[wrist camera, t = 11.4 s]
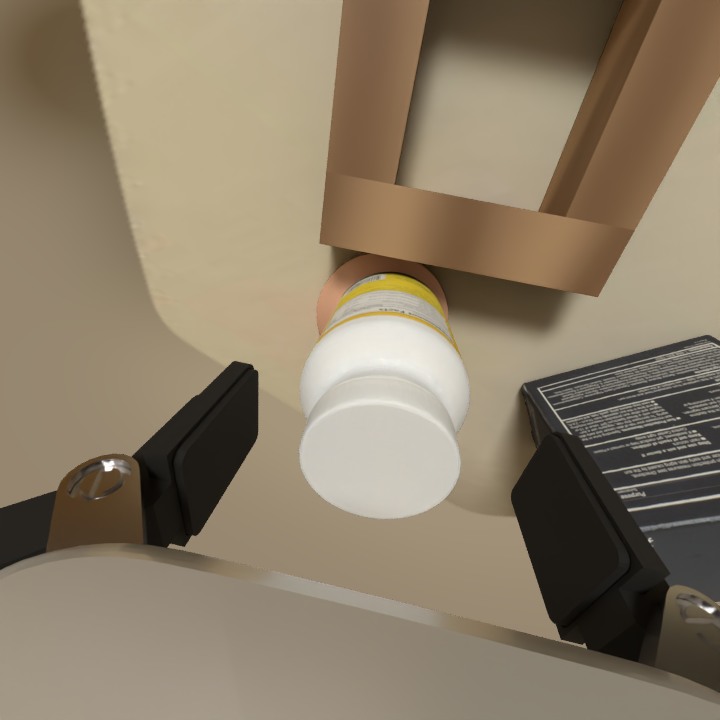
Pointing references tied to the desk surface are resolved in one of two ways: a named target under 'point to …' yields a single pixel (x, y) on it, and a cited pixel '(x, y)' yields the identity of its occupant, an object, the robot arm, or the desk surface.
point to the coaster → (363, 268)
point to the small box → (651, 445)
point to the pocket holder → (572, 175)
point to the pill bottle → (384, 401)
